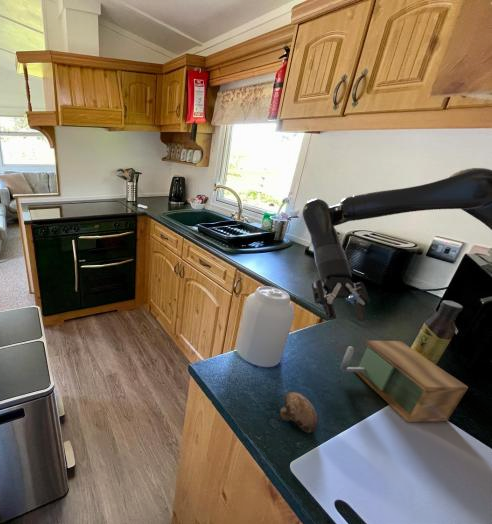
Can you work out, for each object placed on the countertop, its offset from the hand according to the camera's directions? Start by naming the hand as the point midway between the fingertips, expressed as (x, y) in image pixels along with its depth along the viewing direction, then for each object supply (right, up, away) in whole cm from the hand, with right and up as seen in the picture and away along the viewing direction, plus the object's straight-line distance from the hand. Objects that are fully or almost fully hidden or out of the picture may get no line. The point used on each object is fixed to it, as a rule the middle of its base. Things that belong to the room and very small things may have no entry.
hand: (347, 319), depth 76 cm
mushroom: (-21, -20, -13) cm, 31 cm away
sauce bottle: (+28, -14, +9) cm, 33 cm away
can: (-21, -11, +7) cm, 25 cm away
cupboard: (+10, -18, -4) cm, 21 cm away
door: (+2, -15, -2) cm, 15 cm away
